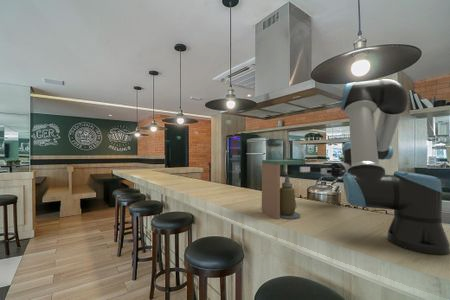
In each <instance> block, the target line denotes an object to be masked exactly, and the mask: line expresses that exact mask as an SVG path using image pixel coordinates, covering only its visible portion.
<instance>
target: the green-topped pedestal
mask: <svg viewBox="0 0 450 300" xmlns="http://www.w3.org/2000/svg"><path fill="white" fill-rule="evenodd" d="M305 161H306V159H305V158H288V157H287V158H286V159H261V213H262V214H265V215H267V216H270V217H272V218H274V219H276V220H279V219H281V218H280V188H281V166H283V165H285V166H289V165H291V166H292V165H306V162H305Z"/></svg>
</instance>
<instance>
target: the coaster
mask: <svg viewBox="0 0 450 300" xmlns="http://www.w3.org/2000/svg"><path fill="white" fill-rule="evenodd" d="M280 219H285V220H297V219H301V214H300V213H299V212H297V211H294V214H293V215H283V214H281V213H280Z"/></svg>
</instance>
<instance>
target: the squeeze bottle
mask: <svg viewBox="0 0 450 300" xmlns="http://www.w3.org/2000/svg"><path fill="white" fill-rule="evenodd" d="M296 203H297V202H296V191H295V188H294V187H293V183H292V182H291V181H290V176H289V175H285V178H284V182H282V183H281V186H280V213H281V214H283V215H293V214H294V212H296V208H297V204H296Z"/></svg>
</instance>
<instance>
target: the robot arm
mask: <svg viewBox="0 0 450 300" xmlns="http://www.w3.org/2000/svg"><path fill="white" fill-rule="evenodd" d="M340 103H341V104H340V110H341V111H344V114H345V115H346V116H347V117H348V120H349V121H348V126H349V141H346V142H344V147H343V162H333V163H331V164H330V165H328V166H299V173H307V174H309V173H310V172H311V173H315V172H316V173H320V175H330V176H332V177H334V178H342V181H343V189H344V194H345V198H346V201H347V203H348V204H349V205H351V206H353V207H361V208H369V209H370V208H372V209H381V210H383V209H384V210H392V211H394V212H393V214H394V215H393V218H392V221H391V223H390V225H389V227H388V230H387V240H388V241H389V242H391V243H392V244H394V245H396V246H399V247H401V248H403V249H407V250H410V251H414V252H418V253H423V254H430V255H447V254H449V253H450V242H449V239H448V237H447V235H446V232H445V229H444V227H443V224H442V216H443V215H442V210H443V209H442V208H443V203H442V202H443V190H442V189H443V188H442V182H441V179H440V178H439V177H436V176H432V175H427V174H422V173H415V172H407V171H399V170H395V171H394V173H393V174H386V169H385V167H384V166H381V164H380V162H379V160H382V161H383V160H391V159H392V158H393V155H394V148H393V146H392V145H391V143H392V141H393V137H394V135H395V132H396V130H397V127H398V123H399V121H400V118H401V115H402V114H403V113H404V112H405V111H406V109H407V108H408V103H409V95H408V93H407V91H406V89H405V87H404V86H403V85H402V84H401V83H400V82H399V81H396V80H394V79H389V78H383V79H376V80H375V79H373V80H364V81H354V82H348V83H346V84H344V86H343V90H342V96H341V102H340ZM377 109H378V110H379V111H380V112H379V115H378V119H377V124H376V126H375V117H374V114H375V113H376V112H377Z"/></svg>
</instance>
